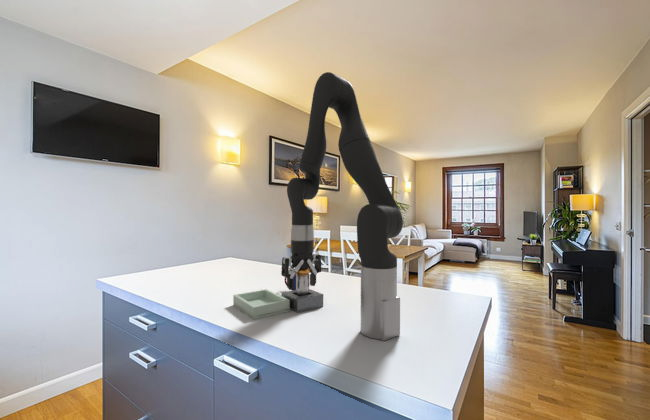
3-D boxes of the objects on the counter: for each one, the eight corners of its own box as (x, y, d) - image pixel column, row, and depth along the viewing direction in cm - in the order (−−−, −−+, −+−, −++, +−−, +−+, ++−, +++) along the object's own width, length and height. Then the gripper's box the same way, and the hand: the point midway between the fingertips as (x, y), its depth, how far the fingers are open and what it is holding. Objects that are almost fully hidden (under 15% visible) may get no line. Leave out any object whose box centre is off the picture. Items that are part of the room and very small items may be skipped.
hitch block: (323, 306, 98) (323, 294, 98) (297, 312, 92) (297, 299, 92) (306, 299, 106) (306, 287, 106) (281, 304, 100) (281, 292, 100)
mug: (304, 294, 111) (304, 276, 111) (281, 291, 116) (281, 274, 116) (312, 290, 118) (312, 273, 118) (290, 287, 122) (290, 270, 122)
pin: (312, 306, 99) (312, 269, 98) (299, 309, 95) (300, 271, 95) (304, 302, 102) (304, 267, 102) (291, 305, 99) (291, 269, 99)
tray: (289, 310, 94) (289, 300, 94) (253, 319, 86) (253, 307, 86) (266, 298, 106) (266, 289, 106) (233, 305, 99) (233, 294, 99)
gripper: (289, 240, 92) (289, 293, 92) (326, 238, 100) (325, 286, 100) (277, 238, 98) (277, 288, 98) (313, 236, 106) (313, 282, 106)
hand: (301, 287), depth 99 cm, fingers open, 8 cm apart
